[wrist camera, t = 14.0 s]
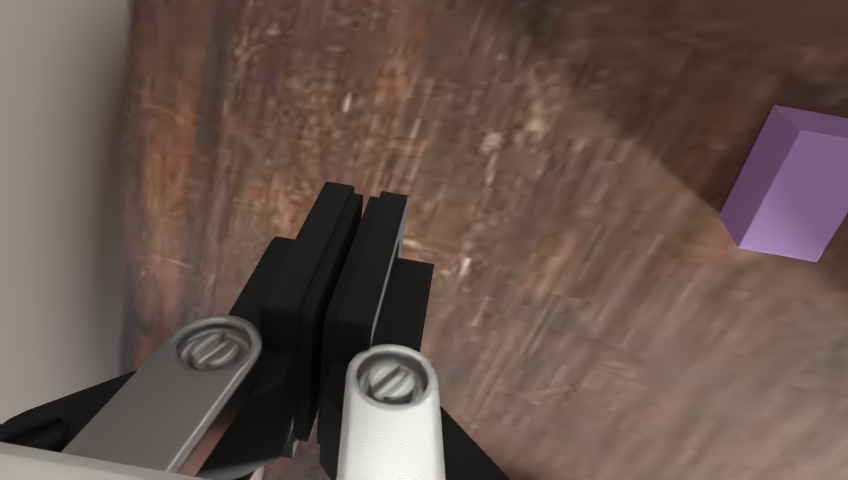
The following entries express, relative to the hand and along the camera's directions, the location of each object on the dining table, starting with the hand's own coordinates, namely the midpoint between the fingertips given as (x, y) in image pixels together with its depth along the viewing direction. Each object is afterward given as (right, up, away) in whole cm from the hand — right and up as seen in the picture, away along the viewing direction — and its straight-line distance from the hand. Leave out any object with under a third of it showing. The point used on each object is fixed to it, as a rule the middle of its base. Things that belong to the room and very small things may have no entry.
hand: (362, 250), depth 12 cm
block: (+24, +5, +26) cm, 36 cm away
